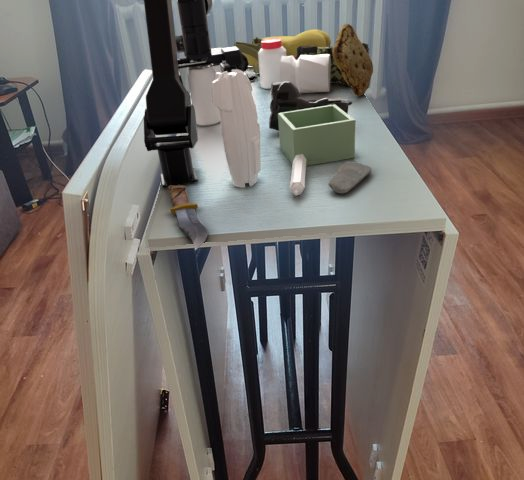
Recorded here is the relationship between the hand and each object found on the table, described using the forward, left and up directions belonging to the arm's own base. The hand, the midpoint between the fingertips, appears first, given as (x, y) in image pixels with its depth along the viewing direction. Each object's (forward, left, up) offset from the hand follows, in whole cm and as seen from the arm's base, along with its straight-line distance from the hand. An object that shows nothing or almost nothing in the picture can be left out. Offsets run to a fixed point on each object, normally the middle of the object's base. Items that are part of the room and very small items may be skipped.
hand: (205, 102), depth 124 cm
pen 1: (+32, -13, -3) cm, 35 cm away
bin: (-32, -17, -4) cm, 37 cm away
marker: (-45, -10, -4) cm, 47 cm away
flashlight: (-41, -1, -5) cm, 41 cm away
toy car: (+14, -35, +1) cm, 37 cm away
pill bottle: (+25, -22, -5) cm, 34 cm away
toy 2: (+59, -20, -3) cm, 62 cm away
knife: (-52, +8, -4) cm, 52 cm away
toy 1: (+34, -8, -2) cm, 35 cm away
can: (0, 0, -5) cm, 5 cm away
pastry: (+7, -37, +3) cm, 38 cm away
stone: (-47, -16, -3) cm, 50 cm away
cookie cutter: (+38, -21, 0) cm, 44 cm away
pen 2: (+2, -25, -4) cm, 26 cm away
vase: (+10, -33, 0) cm, 35 cm away
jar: (+16, -5, -5) cm, 17 cm away
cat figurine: (-12, -21, -5) cm, 25 cm away
